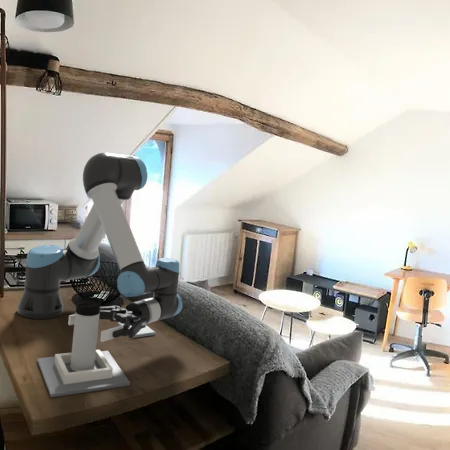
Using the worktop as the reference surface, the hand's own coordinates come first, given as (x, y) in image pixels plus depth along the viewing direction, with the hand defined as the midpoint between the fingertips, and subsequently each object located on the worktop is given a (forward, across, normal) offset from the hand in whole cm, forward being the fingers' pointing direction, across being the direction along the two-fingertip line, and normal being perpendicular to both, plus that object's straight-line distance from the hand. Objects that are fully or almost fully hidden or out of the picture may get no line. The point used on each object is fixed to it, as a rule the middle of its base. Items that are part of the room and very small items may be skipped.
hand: (84, 328), depth 121 cm
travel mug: (-1, 0, -12) cm, 12 cm away
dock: (-1, 0, -13) cm, 13 cm away
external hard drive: (-34, +14, -14) cm, 39 cm away
